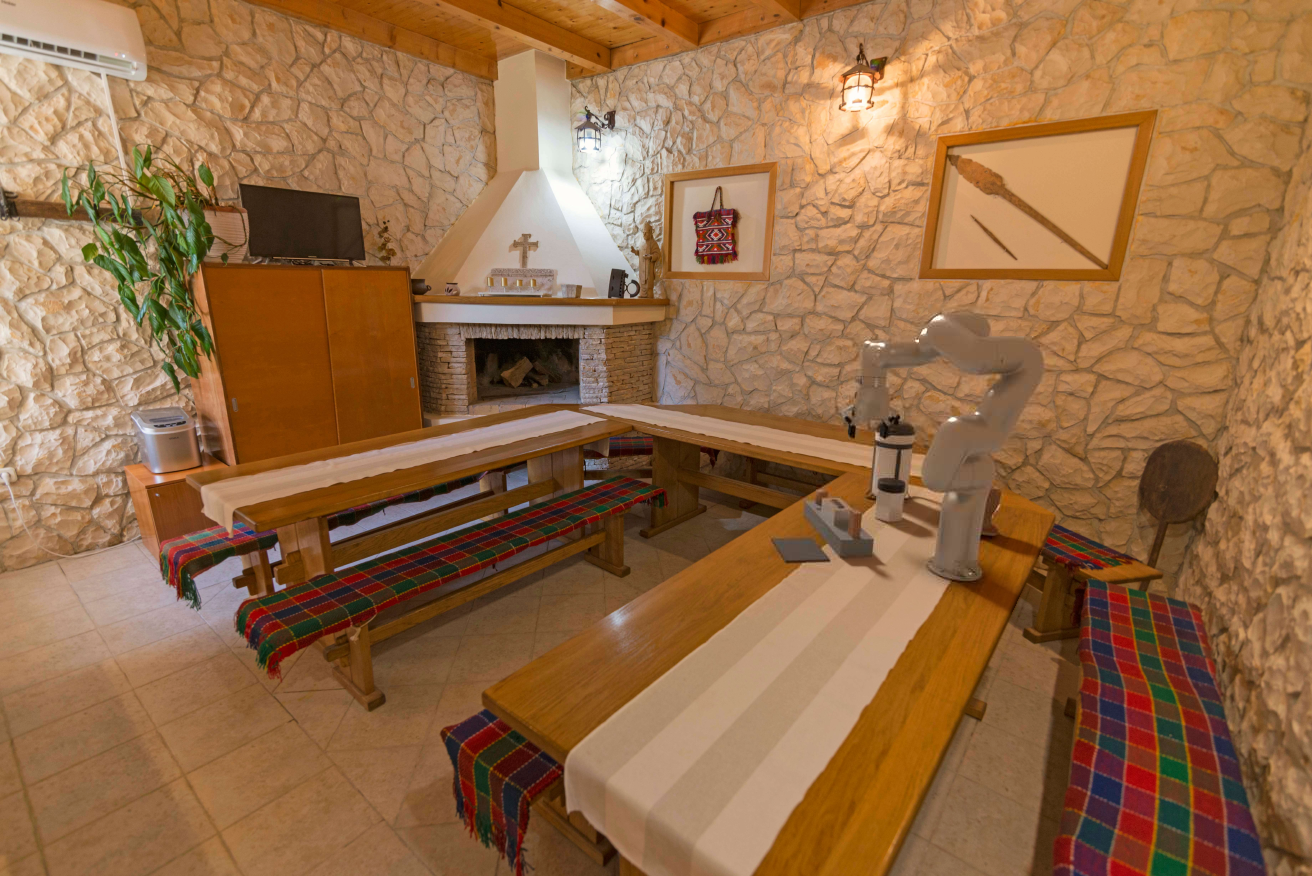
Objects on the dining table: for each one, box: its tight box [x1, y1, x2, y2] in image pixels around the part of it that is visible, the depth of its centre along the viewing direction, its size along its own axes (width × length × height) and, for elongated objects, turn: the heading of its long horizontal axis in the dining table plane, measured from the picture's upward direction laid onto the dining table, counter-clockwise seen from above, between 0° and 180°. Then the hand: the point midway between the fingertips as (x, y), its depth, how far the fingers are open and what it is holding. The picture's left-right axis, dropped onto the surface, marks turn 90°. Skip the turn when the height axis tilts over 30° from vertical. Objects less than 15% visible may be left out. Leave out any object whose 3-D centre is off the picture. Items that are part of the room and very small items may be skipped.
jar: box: [874, 478, 906, 523], centre depth 179 cm, size 9×8×12 cm
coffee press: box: [865, 413, 917, 501], centre depth 194 cm, size 17×16×30 cm
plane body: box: [803, 488, 875, 558], centre depth 165 cm, size 30×9×12 cm, turn 4°
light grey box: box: [821, 497, 854, 525], centre depth 165 cm, size 10×6×5 cm, turn 4°
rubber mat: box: [770, 536, 831, 563], centre depth 156 cm, size 14×12×1 cm
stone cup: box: [981, 484, 1002, 537], centre depth 169 cm, size 15×12×15 cm
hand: (867, 437), depth 173 cm, fingers open, 9 cm apart
